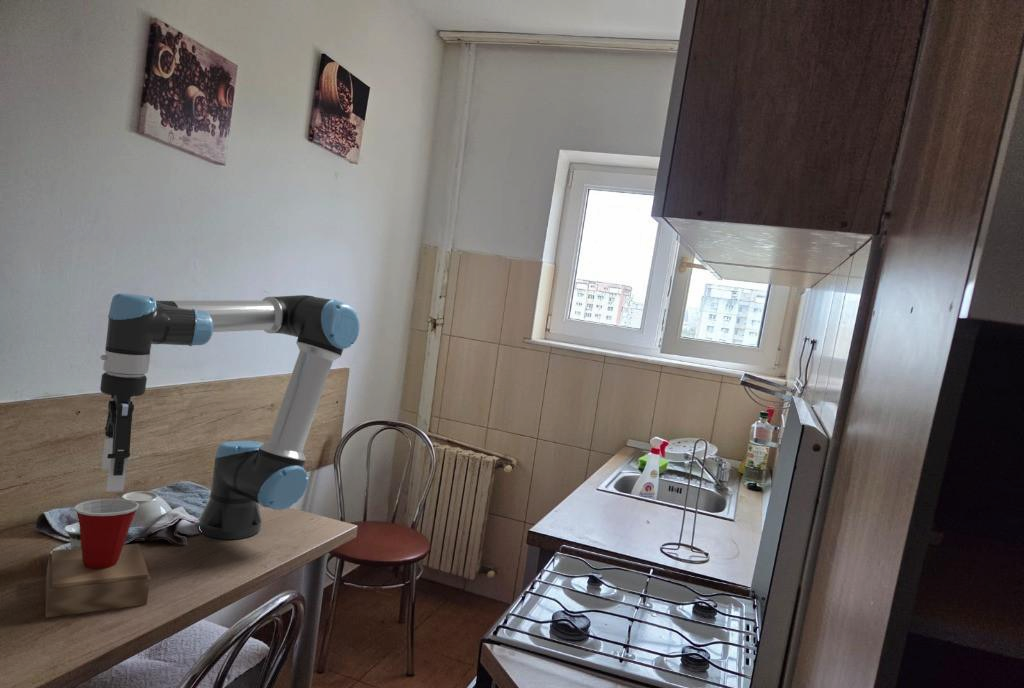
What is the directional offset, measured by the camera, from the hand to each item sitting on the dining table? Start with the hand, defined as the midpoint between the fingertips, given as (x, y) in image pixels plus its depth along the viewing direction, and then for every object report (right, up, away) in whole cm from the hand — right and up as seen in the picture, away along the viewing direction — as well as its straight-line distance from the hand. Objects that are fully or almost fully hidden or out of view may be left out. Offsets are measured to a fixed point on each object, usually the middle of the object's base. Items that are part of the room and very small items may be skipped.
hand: (112, 479), depth 124 cm
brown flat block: (-4, -22, +1) cm, 23 cm away
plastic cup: (-3, -17, +1) cm, 17 cm away
